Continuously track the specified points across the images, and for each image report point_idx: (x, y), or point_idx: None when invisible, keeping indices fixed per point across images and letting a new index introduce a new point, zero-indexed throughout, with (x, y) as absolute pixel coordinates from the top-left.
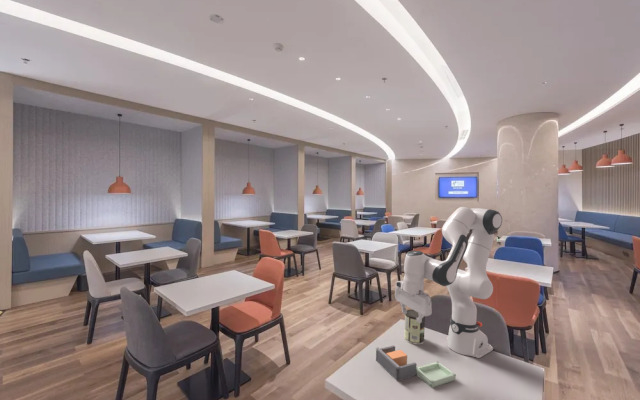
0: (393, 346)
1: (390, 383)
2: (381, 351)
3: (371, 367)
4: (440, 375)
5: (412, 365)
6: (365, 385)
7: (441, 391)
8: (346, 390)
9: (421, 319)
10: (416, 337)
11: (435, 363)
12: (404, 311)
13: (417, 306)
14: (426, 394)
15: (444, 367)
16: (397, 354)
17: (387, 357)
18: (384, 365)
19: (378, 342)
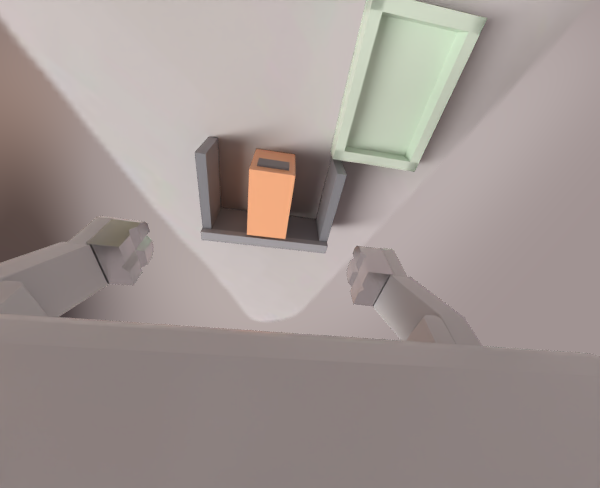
0: (202, 161)
1: None
2: (230, 239)
3: None
4: (411, 72)
5: (340, 193)
6: (292, 287)
7: (437, 150)
8: (285, 315)
9: (400, 272)
10: None
11: (374, 31)
12: (139, 267)
13: None
14: (405, 200)
15: (423, 15)
16: (272, 206)
17: (270, 246)
18: None
19: (85, 114)
